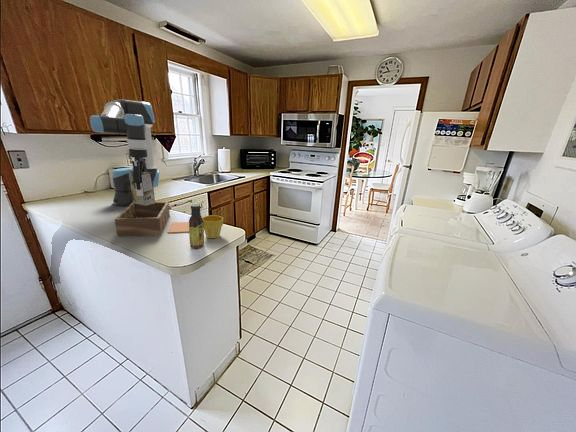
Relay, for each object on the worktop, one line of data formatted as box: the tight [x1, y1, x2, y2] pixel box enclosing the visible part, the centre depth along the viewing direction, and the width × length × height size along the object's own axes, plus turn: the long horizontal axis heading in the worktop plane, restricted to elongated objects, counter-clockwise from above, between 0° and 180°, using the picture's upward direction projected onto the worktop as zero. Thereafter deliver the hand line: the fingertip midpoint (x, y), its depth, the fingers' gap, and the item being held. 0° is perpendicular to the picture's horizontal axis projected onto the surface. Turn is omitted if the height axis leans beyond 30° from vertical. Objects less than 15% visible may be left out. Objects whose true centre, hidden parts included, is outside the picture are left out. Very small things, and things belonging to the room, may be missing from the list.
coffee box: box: [129, 171, 156, 206], centre depth 121 cm, size 9×6×16 cm
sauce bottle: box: [188, 203, 205, 250], centre depth 107 cm, size 6×6×20 cm
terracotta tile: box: [167, 221, 189, 234], centre depth 129 cm, size 14×14×1 cm
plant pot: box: [202, 214, 224, 239], centre depth 120 cm, size 10×10×10 cm
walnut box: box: [114, 201, 171, 238], centre depth 126 cm, size 28×18×9 cm, turn 17°
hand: (143, 193), depth 122 cm, fingers closed on coffee box, 10 cm apart
